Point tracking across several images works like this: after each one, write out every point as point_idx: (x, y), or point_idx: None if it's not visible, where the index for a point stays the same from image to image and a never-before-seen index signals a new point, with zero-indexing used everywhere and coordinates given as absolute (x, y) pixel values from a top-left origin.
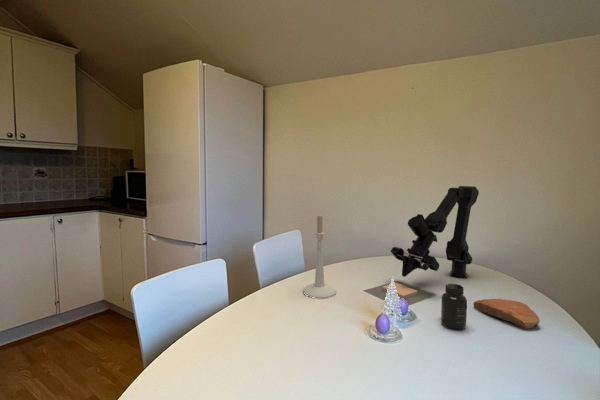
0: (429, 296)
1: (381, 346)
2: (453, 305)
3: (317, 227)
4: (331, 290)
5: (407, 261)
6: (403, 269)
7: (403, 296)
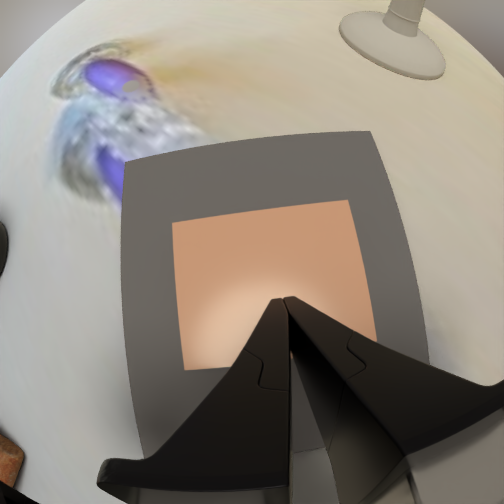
0: (145, 407)
1: (70, 54)
2: None
3: None
4: (369, 38)
5: (351, 429)
6: (305, 317)
7: (173, 224)
